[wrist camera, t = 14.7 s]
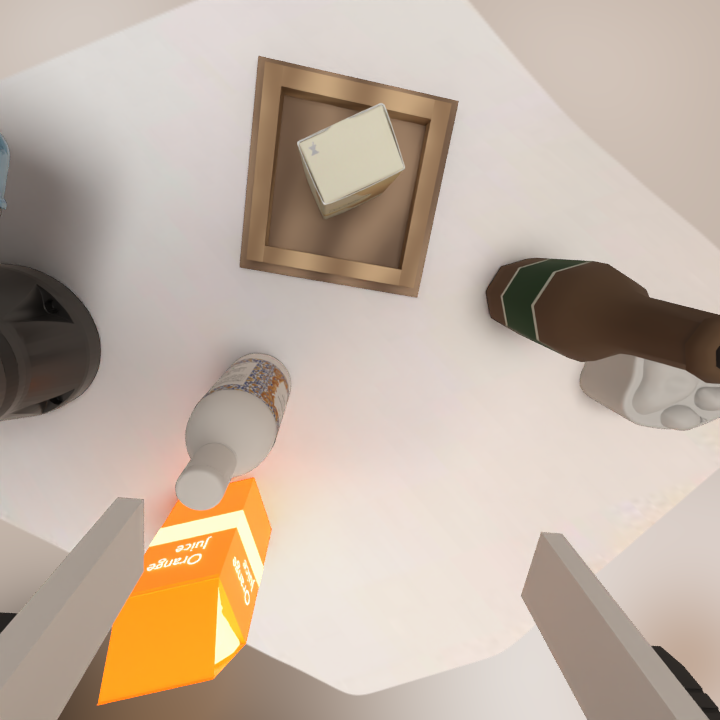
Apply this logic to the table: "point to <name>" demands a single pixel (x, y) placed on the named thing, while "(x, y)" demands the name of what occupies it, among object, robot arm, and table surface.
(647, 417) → the lumpy-topped squat cylinder
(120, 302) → the table surface
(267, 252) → the wooden tray
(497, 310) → the beer bottle
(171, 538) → the orange juice
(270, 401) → the bath foam
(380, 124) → the skincare box
